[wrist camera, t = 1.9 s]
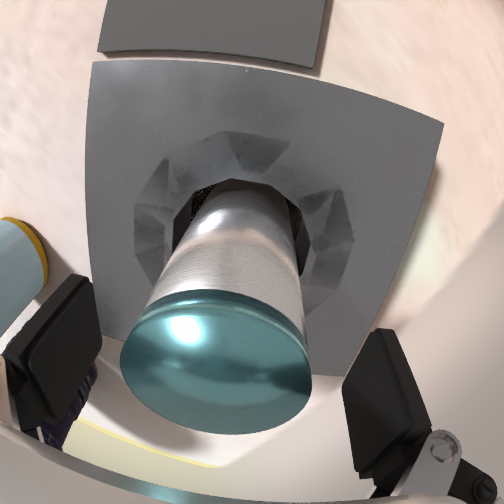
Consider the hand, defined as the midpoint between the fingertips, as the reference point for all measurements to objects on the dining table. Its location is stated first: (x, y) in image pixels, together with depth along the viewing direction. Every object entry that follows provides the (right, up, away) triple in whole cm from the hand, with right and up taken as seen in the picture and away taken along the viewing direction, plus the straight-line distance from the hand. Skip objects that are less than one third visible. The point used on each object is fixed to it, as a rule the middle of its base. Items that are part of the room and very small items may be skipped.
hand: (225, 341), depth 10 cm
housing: (+1, +5, +8) cm, 10 cm away
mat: (-1, +19, +1) cm, 19 cm away
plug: (+1, +5, +8) cm, 10 cm away
